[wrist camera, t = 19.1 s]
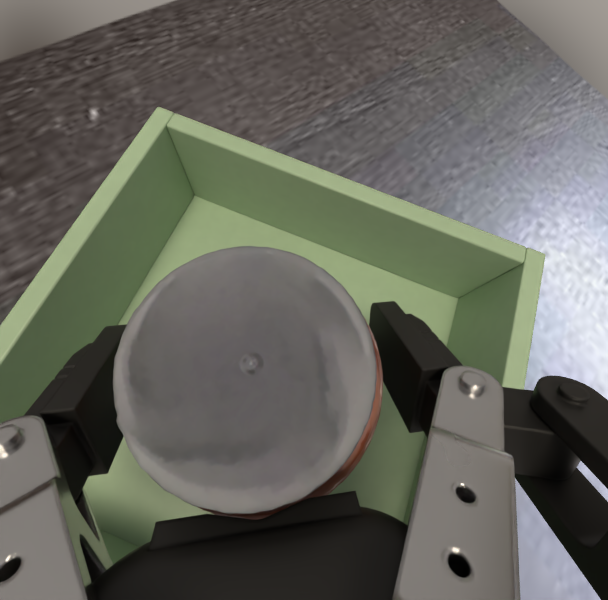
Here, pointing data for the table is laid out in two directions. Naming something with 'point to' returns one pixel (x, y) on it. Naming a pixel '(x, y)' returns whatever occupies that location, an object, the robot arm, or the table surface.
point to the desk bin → (275, 234)
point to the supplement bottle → (248, 382)
